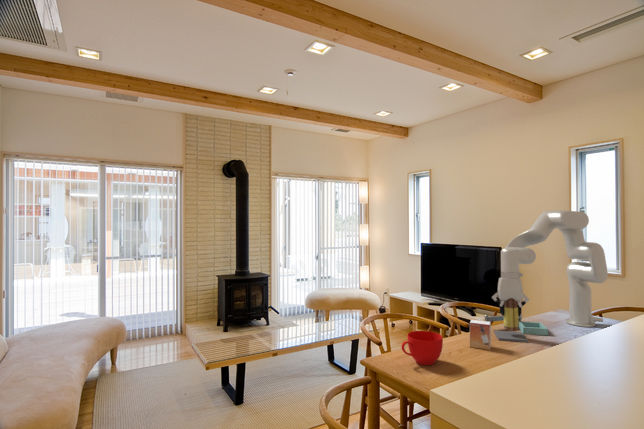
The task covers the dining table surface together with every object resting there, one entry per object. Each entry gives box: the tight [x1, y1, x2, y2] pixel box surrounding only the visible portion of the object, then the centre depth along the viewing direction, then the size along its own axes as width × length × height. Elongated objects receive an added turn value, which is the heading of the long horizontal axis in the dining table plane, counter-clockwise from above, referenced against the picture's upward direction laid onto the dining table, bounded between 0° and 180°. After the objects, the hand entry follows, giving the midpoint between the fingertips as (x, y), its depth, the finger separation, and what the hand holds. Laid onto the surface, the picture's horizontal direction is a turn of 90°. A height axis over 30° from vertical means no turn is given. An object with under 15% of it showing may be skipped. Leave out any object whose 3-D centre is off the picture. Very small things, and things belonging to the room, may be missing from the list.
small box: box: [469, 319, 492, 351], centre depth 161 cm, size 8×6×10 cm
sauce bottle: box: [503, 298, 520, 332], centre depth 174 cm, size 6×6×20 cm
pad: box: [493, 330, 529, 343], centre depth 174 cm, size 12×12×1 cm
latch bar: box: [483, 313, 523, 322], centre depth 189 cm, size 4×21×3 cm, turn 104°
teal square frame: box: [518, 319, 549, 336], centre depth 184 cm, size 12×14×4 cm
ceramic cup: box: [401, 330, 444, 366], centre depth 144 cm, size 13×17×10 cm
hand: (510, 314), depth 174 cm, fingers closed on sauce bottle, 6 cm apart
